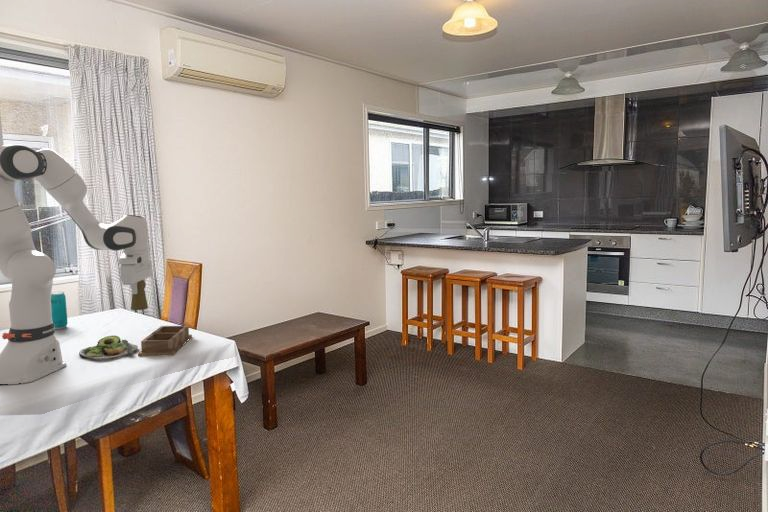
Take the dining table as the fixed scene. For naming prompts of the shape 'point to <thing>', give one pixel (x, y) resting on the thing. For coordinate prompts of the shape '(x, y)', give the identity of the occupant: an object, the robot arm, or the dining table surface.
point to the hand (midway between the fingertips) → (138, 292)
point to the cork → (139, 297)
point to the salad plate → (108, 349)
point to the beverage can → (59, 310)
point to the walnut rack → (164, 341)
